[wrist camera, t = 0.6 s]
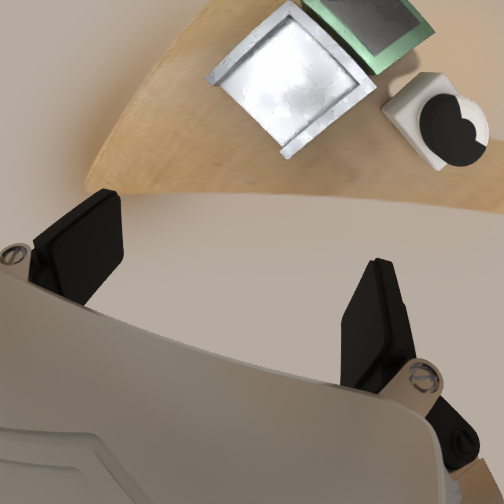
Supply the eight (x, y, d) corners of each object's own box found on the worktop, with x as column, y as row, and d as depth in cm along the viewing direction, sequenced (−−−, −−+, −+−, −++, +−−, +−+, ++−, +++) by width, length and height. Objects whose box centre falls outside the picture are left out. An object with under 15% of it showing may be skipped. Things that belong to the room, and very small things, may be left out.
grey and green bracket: (346, -34, 21) (351, -55, 15) (424, 46, 24) (446, 41, 18) (214, 78, 31) (192, 80, 26) (290, 152, 35) (283, 169, 29)
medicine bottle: (418, 154, 31) (456, 192, 21) (378, 108, 30) (407, 125, 20) (458, 119, 27) (510, 143, 17) (420, 71, 26) (466, 72, 16)
